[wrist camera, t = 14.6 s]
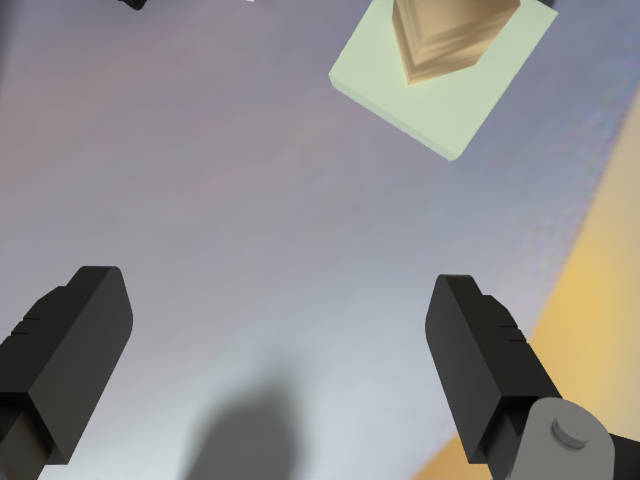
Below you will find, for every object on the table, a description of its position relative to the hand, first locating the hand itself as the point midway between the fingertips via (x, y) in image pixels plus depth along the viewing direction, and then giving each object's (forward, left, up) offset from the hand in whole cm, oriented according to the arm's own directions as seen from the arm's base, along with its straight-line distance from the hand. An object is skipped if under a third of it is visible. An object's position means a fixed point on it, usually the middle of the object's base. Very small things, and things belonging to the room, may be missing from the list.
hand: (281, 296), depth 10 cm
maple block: (-2, +15, -22) cm, 27 cm away
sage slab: (-2, +15, -26) cm, 31 cm away
